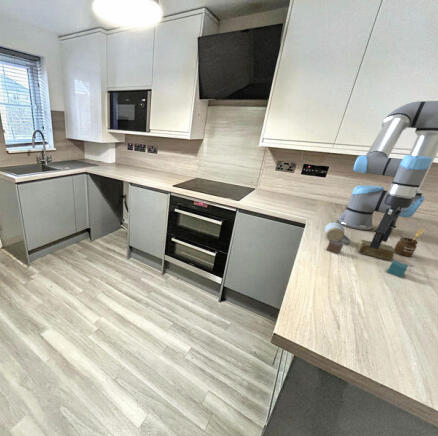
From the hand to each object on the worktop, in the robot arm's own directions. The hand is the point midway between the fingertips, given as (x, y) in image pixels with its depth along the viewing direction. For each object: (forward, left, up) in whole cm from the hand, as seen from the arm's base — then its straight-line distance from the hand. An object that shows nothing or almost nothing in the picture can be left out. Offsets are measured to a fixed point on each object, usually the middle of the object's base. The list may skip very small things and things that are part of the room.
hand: (378, 244), depth 100 cm
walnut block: (+12, -11, -5) cm, 17 cm away
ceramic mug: (-3, -15, -6) cm, 16 cm away
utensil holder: (-14, +7, -6) cm, 17 cm away
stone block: (0, 0, -6) cm, 6 cm away
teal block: (+12, +9, -5) cm, 16 cm away
